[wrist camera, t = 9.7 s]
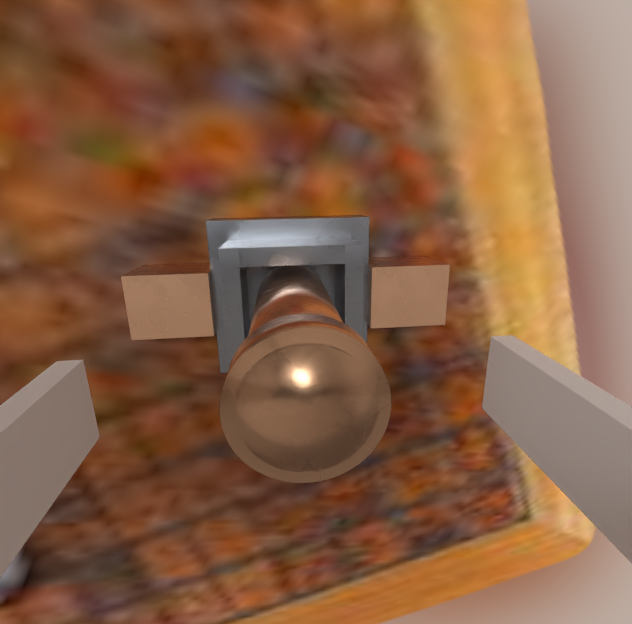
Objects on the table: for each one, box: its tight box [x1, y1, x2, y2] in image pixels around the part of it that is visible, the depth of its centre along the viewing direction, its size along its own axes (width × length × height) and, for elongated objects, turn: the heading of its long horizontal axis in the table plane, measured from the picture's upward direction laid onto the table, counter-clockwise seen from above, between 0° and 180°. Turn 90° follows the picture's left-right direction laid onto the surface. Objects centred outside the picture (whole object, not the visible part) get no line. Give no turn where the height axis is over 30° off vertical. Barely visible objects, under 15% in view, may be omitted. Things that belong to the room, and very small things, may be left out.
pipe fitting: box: [220, 265, 391, 483], centre depth 18 cm, size 5×5×14 cm
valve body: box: [121, 215, 450, 373], centre depth 25 cm, size 20×15×7 cm
